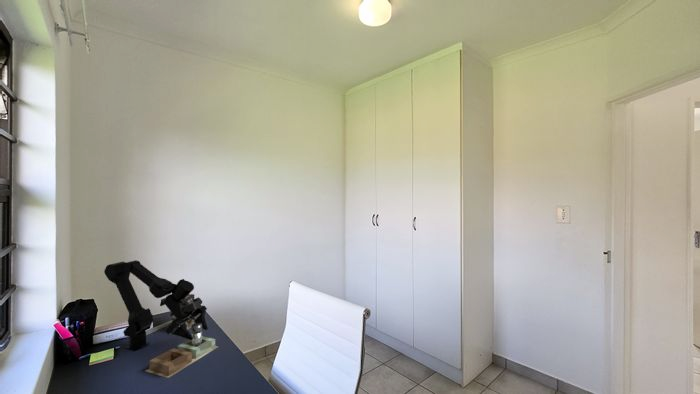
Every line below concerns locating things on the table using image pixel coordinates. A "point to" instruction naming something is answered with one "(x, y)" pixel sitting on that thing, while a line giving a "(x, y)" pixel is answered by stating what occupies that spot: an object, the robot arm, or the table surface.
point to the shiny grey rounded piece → (196, 334)
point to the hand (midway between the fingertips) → (199, 334)
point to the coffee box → (191, 321)
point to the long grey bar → (158, 327)
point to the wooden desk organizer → (180, 357)
